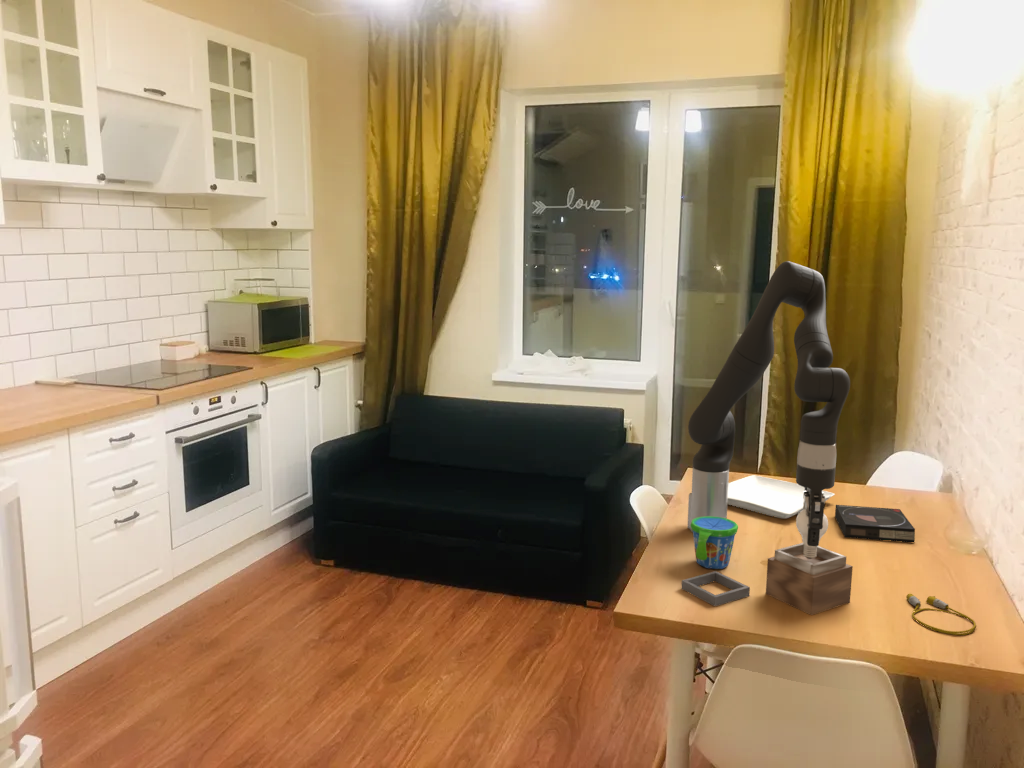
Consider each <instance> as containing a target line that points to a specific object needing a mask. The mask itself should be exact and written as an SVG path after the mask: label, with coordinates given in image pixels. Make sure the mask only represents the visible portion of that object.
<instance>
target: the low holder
mask: <svg viewBox="0 0 1024 768" xmlns="http://www.w3.org/2000/svg"><path fill="white" fill-rule="evenodd" d="M713 581H716V583H717V582H718V583H717V584H719V583H720V584H719V585H721V586H724V587H726V588H728V589H730V590H728V591H724V592H721V593H718V594H714V593H712V592H710V591H708V590H706V589H704V588H702V587H701V586H704V585H703V584H705V585H707V583H708V584H711V583H710V582H712V583H714V582H713ZM700 585H701V586H700ZM680 588H681V590H682V591H684V590H685V592H686V591H687V593H688V592H689V594H690V593H691V594H690V595H692V594H693V595H692V596H694V595H695V596H694V597H697V598H698V599H700V600H702V601H704V602H706V603H708V604H710V605H712V606H713V607H717V606H720V605H724V604H727V603H731V602H734V601H737V600H740V599H744V598H746V597H750V592H751V591H750V590H751V588H750V586H749V585H746V584H744V583H741V582H739V581H738V580H736V579H733V578H731V577H729V576H727V575H726V574H723V573H721V572H718V571H716V570H715V571H710V572H707V573H704V574H700V575H696V576H693V577H689V578H685V579H682V580H681V587H680Z"/></svg>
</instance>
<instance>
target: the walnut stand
mask: <svg viewBox="0 0 1024 768" xmlns="http://www.w3.org/2000/svg"><path fill="white" fill-rule="evenodd" d="M803 550H804V544H803V542H800V543H797V544H796V543H795V544H793V545H790V546H785V547H781V548H779V549H775V550H774V556H772V557H768V558H767V564H766V565H767V567H766V568H767V569H766V580H765V581H766V582H765V583H766V584H765V586H766V587H765V594H766V595H768V596H770V597H772V598H774V599H777V600H778V601H780V602H783V603H785V604H787V605H789V606H792V607H793V608H795V609H797V610H800V611H801V612H804V613H806V614H809V615H811V616H813V615H816V614H819V613H822V612H825V611H829V610H831V609H834V608H837V607H840V606H843V605H845V604H848V603H850V602H851V593H852V581H853V580H852V579H853V578H852V577H853V565H850V564H848V563H847V556H846V555H844V554H841V553H838V552H836V551H832V550H830V549H827V548H825V547H822V546H820V545H818V546H817V552H816V553H817V554H816V555H817V556H816V557H815V558H813V559H808V558H806V557H805V556H803V554H804V553H803V552H804V551H803Z"/></svg>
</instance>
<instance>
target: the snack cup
mask: <svg viewBox="0 0 1024 768" xmlns="http://www.w3.org/2000/svg"><path fill="white" fill-rule="evenodd" d="M691 528H692V530H693V532H692V533H693V534H692V537H693V543H694V552H695V560H696V563H697V564H698V565H700V566H701V567H703V568H705V569H713V570H718V569H719V570H720V569H721V570H722V569H725V568H726V567H728V565H729V564H730V560H731V557H732V551H733V548H734V543H735V537H736V534H737V532H738V529H739V525H738V523H737V522H735V521H734V520H731V519H729V518H727V519H726V518H721V517H713V516H704V517H698V518H695V519H693V520H692V522H691Z"/></svg>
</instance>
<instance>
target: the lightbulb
mask: <svg viewBox="0 0 1024 768" xmlns="http://www.w3.org/2000/svg"><path fill="white" fill-rule="evenodd" d="M812 523H818V519H817V518H813V520H812ZM807 524H808V518H807V517H806V515H805V509H804V510H802V511H801V512H799V513H797V516H796V519H795V527H796V528H797V532H798V533H799V534H800V537H801V540H802V543H803V544H804V550H803V551H804V552H803V553H804V554H803V556H805V557H806V558H808V559H813V558H815V557H816V556H817V555H816V554H817V553H816V552H817V546H809V545H808V544H807V536H808V527H807ZM822 525H823V528H822V529H820V533H819V542H820V541H821V539H822V538H823V536H824V535H825V534H826V533H827V531H828V529H829V520H828V517H827V515H826V514H825V513H824V516H823V524H822Z"/></svg>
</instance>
